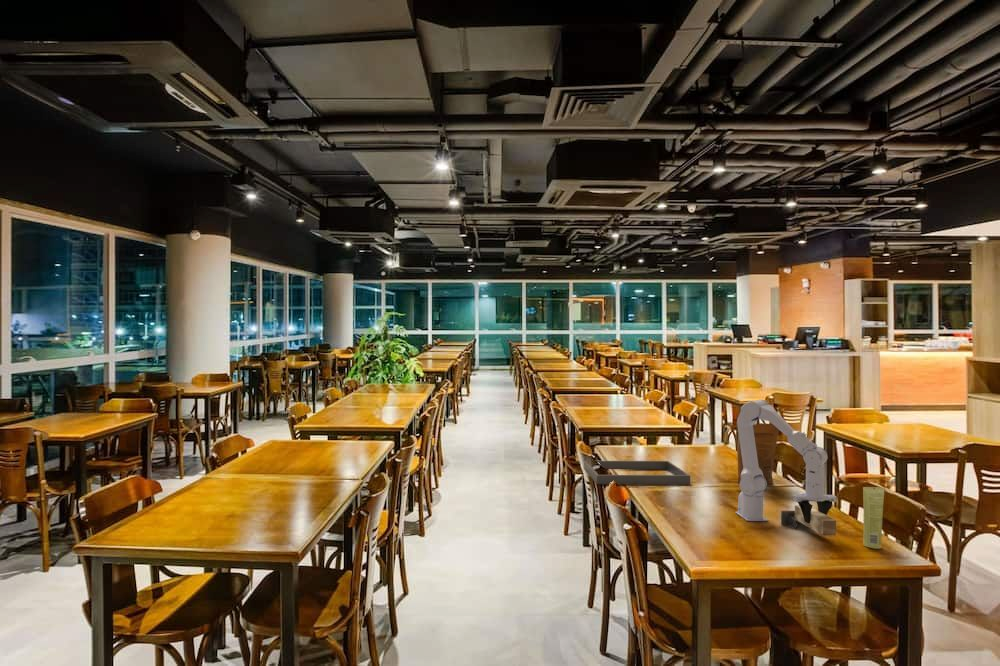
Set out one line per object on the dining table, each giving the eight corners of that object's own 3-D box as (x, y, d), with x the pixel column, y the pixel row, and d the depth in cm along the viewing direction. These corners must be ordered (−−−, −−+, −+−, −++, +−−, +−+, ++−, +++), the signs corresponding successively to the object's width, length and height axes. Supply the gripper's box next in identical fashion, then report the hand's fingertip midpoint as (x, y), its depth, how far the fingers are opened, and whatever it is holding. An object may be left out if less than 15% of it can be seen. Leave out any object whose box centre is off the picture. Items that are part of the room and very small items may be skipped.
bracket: (780, 524, 204) (781, 510, 204) (812, 524, 205) (813, 510, 205) (788, 528, 200) (788, 514, 200) (820, 528, 200) (821, 514, 200)
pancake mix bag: (780, 486, 255) (782, 424, 254) (738, 485, 255) (739, 423, 255) (774, 482, 261) (775, 422, 261) (732, 481, 262) (733, 421, 262)
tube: (865, 541, 188) (866, 483, 188) (883, 546, 185) (884, 486, 185) (861, 546, 184) (862, 487, 184) (879, 550, 181) (881, 490, 181)
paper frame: (583, 468, 281) (583, 460, 281) (668, 468, 283) (668, 460, 283) (596, 484, 253) (596, 475, 253) (690, 484, 255) (690, 475, 255)
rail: (794, 519, 202) (794, 505, 202) (806, 519, 203) (806, 505, 203) (822, 535, 186) (823, 520, 186) (835, 535, 187) (836, 520, 187)
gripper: (801, 486, 190) (800, 526, 190) (842, 486, 191) (842, 526, 191) (789, 480, 197) (788, 519, 197) (829, 480, 198) (828, 519, 198)
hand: (814, 522), depth 195 cm, fingers closed on rail, 4 cm apart
